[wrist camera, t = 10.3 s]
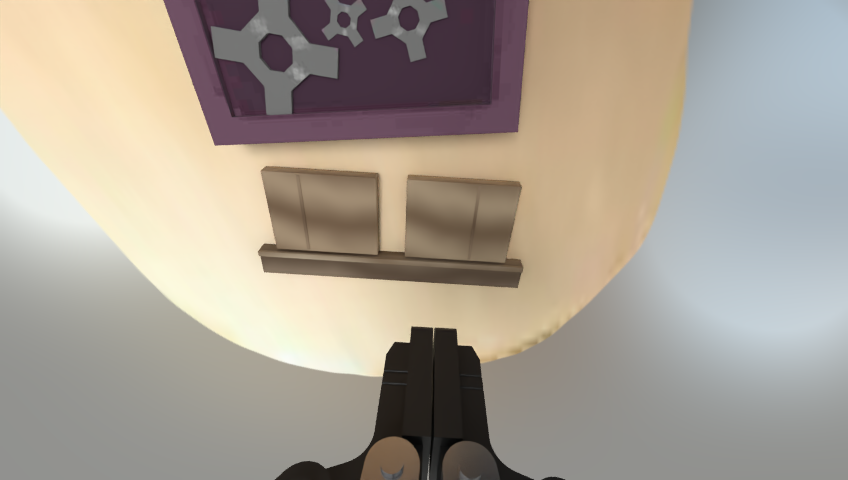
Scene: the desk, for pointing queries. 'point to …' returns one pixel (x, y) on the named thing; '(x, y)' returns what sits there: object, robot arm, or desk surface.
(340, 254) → the strip
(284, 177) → the plank
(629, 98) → the desk surface
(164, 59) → the desk surface
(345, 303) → the desk surface
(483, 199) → the plank
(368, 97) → the purple gear tray
